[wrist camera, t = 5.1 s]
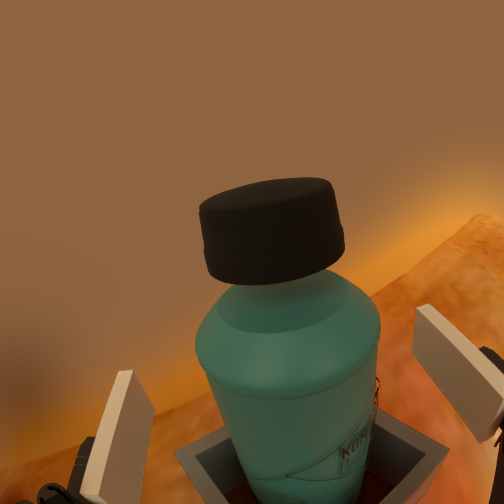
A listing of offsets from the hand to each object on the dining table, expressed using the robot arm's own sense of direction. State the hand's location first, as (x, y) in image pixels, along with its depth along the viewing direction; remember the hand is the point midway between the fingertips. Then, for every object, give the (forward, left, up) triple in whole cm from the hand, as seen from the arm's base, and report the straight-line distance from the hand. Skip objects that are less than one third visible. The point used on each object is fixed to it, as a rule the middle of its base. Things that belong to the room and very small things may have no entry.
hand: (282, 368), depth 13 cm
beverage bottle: (-2, +1, -12) cm, 12 cm away
